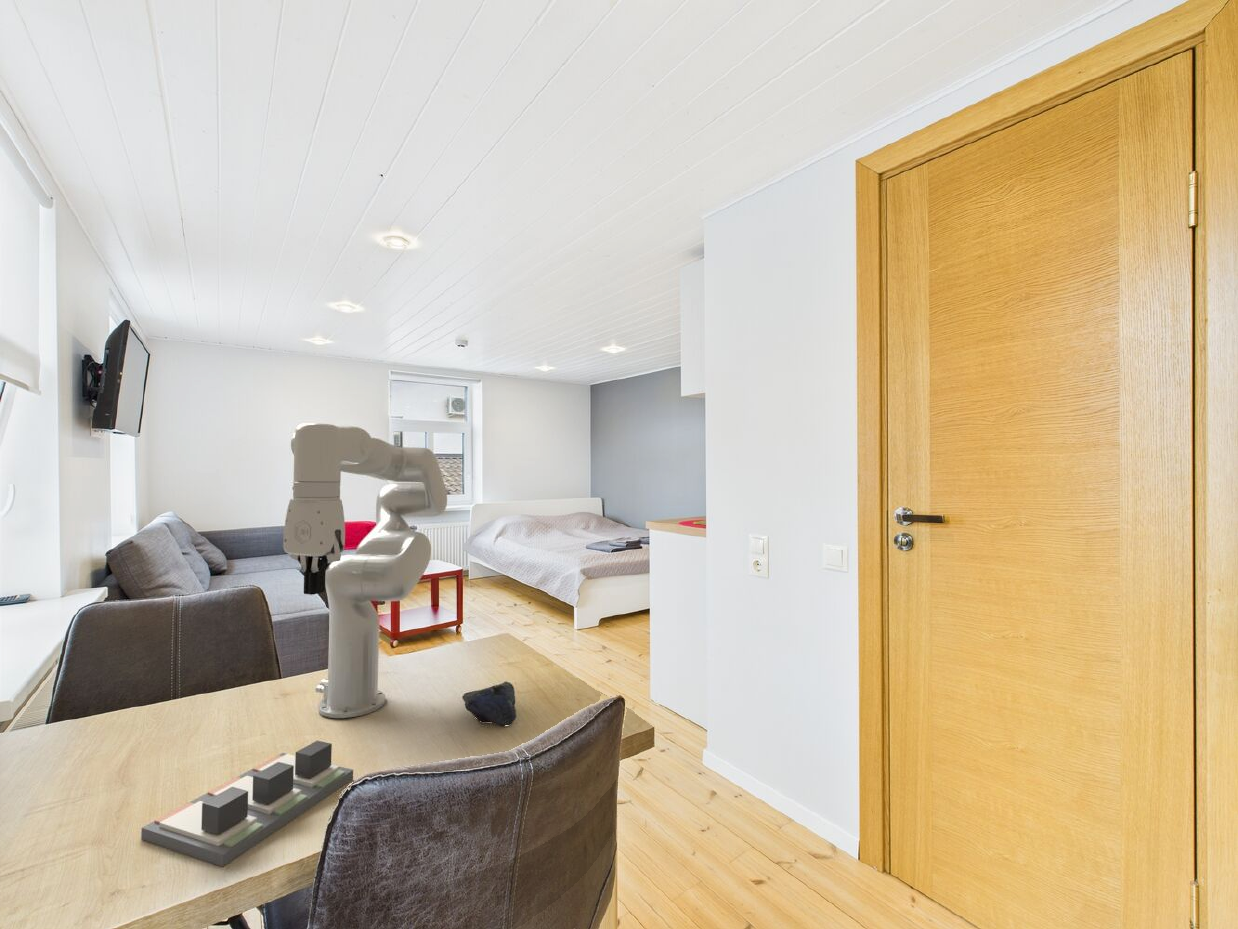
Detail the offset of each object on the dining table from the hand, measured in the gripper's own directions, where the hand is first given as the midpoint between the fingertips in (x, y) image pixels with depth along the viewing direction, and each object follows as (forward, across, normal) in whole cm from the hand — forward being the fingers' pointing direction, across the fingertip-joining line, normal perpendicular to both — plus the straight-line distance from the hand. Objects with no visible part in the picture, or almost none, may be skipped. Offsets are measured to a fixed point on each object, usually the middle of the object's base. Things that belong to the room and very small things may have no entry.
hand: (314, 592), depth 100 cm
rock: (+27, +24, +20) cm, 41 cm away
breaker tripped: (+25, +12, -17) cm, 32 cm away
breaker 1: (+25, +12, -24) cm, 36 cm away
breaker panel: (+27, +8, -17) cm, 33 cm away
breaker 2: (+25, +12, -10) cm, 29 cm away
